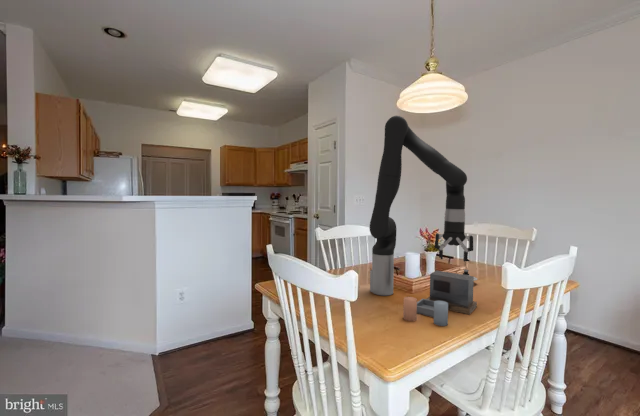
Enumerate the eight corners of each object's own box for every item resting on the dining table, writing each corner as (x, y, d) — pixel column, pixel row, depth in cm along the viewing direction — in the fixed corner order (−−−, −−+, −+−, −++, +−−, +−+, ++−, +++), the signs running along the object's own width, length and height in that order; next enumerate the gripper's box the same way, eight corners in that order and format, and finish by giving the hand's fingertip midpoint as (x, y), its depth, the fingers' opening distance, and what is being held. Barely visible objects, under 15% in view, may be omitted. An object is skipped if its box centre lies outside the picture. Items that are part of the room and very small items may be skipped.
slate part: (431, 323, 103) (432, 303, 103) (436, 319, 106) (436, 299, 106) (445, 327, 100) (445, 306, 100) (449, 322, 103) (449, 302, 103)
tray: (412, 311, 113) (412, 305, 113) (422, 304, 120) (422, 298, 120) (438, 318, 107) (438, 311, 107) (447, 310, 114) (447, 304, 114)
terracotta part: (401, 318, 107) (401, 299, 106) (406, 315, 110) (406, 295, 110) (413, 322, 104) (413, 301, 104) (418, 318, 107) (418, 298, 107)
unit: (425, 304, 121) (426, 274, 120) (434, 297, 128) (435, 269, 128) (469, 314, 110) (470, 281, 110) (476, 306, 118) (477, 276, 117)
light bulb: (477, 257, 152) (454, 255, 155) (479, 261, 142) (455, 259, 146) (476, 281, 152) (454, 279, 156) (478, 287, 143) (454, 284, 147)
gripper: (435, 220, 122) (434, 260, 123) (475, 221, 117) (473, 263, 118) (435, 218, 129) (434, 256, 130) (473, 220, 124) (471, 259, 125)
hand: (452, 260), depth 124 cm, fingers open, 8 cm apart
